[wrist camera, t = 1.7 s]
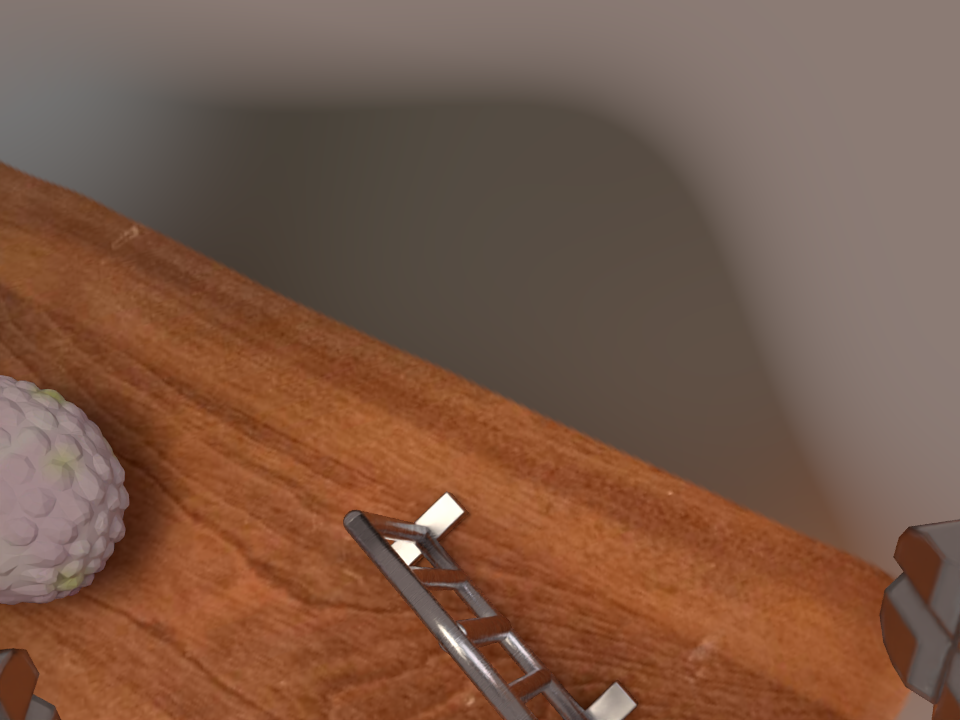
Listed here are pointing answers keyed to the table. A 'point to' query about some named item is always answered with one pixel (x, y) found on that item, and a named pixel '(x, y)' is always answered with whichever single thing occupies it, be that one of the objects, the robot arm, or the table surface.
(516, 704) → the rack
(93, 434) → the decorative item
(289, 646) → the table surface
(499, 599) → the table surface
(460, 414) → the table surface
